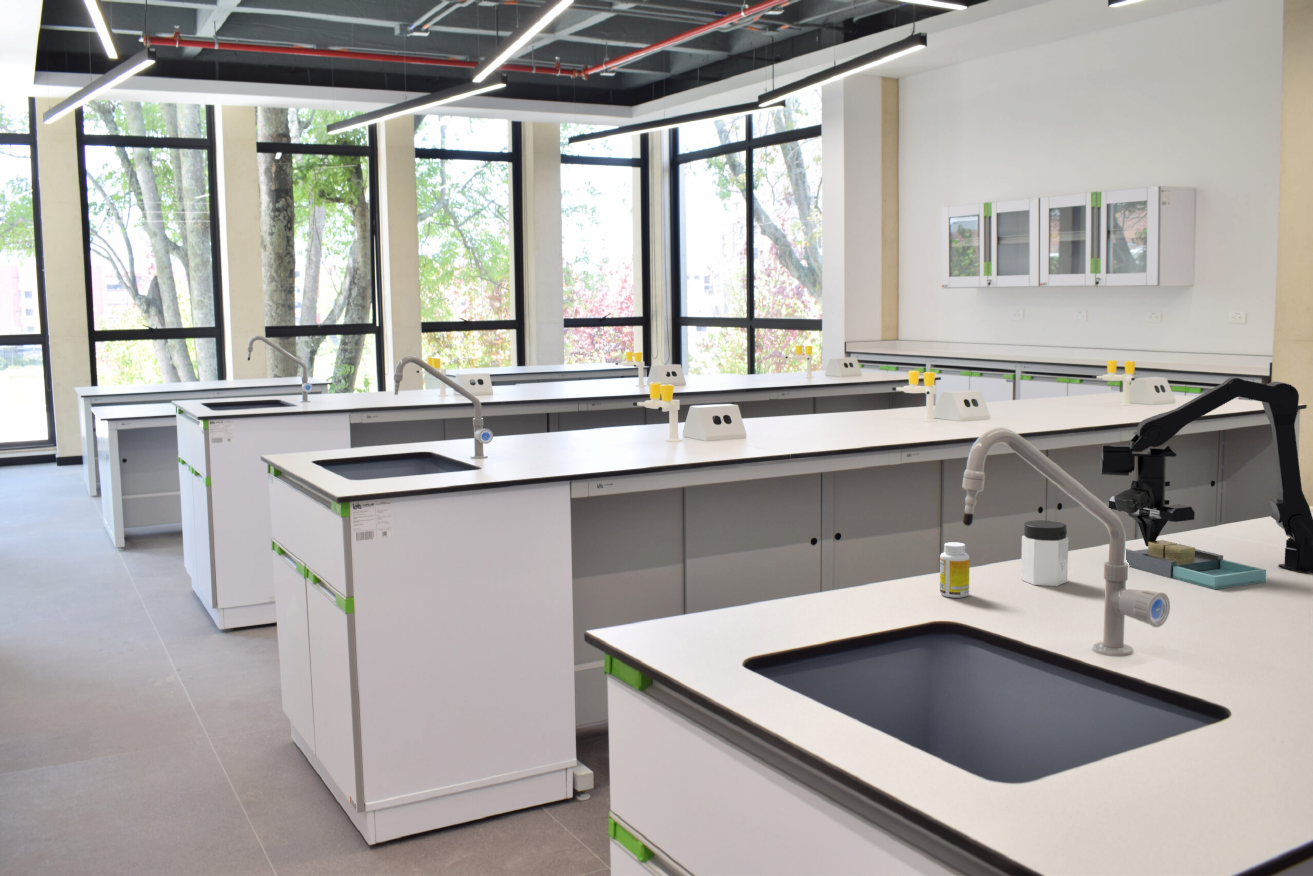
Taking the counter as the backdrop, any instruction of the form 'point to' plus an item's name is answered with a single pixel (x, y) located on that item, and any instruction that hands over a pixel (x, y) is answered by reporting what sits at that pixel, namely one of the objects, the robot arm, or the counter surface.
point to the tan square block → (1158, 547)
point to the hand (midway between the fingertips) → (1149, 546)
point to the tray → (1222, 575)
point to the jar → (1044, 553)
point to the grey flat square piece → (1172, 562)
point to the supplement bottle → (954, 571)
